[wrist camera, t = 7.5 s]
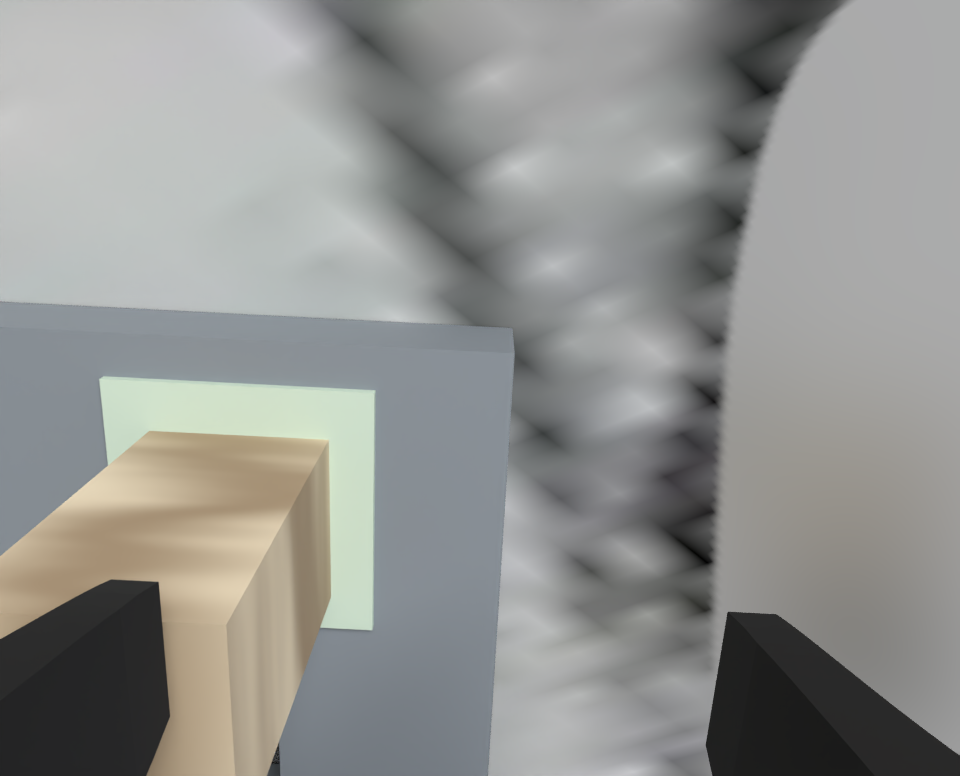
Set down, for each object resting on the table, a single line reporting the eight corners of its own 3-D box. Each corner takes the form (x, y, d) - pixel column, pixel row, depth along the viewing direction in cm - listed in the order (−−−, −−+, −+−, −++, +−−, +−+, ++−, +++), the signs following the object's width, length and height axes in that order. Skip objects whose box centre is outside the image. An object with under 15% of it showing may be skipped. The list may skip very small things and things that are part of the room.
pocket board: (512, 327, 19) (515, 355, 17) (480, 838, 24) (478, 918, 22) (-58, 298, 19) (-139, 322, 17) (24, 813, 24) (-29, 890, 22)
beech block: (329, 439, 18) (226, 624, 11) (331, 596, 19) (239, 851, 12) (149, 430, 18) (-65, 609, 11) (163, 588, 19) (-22, 838, 12)
